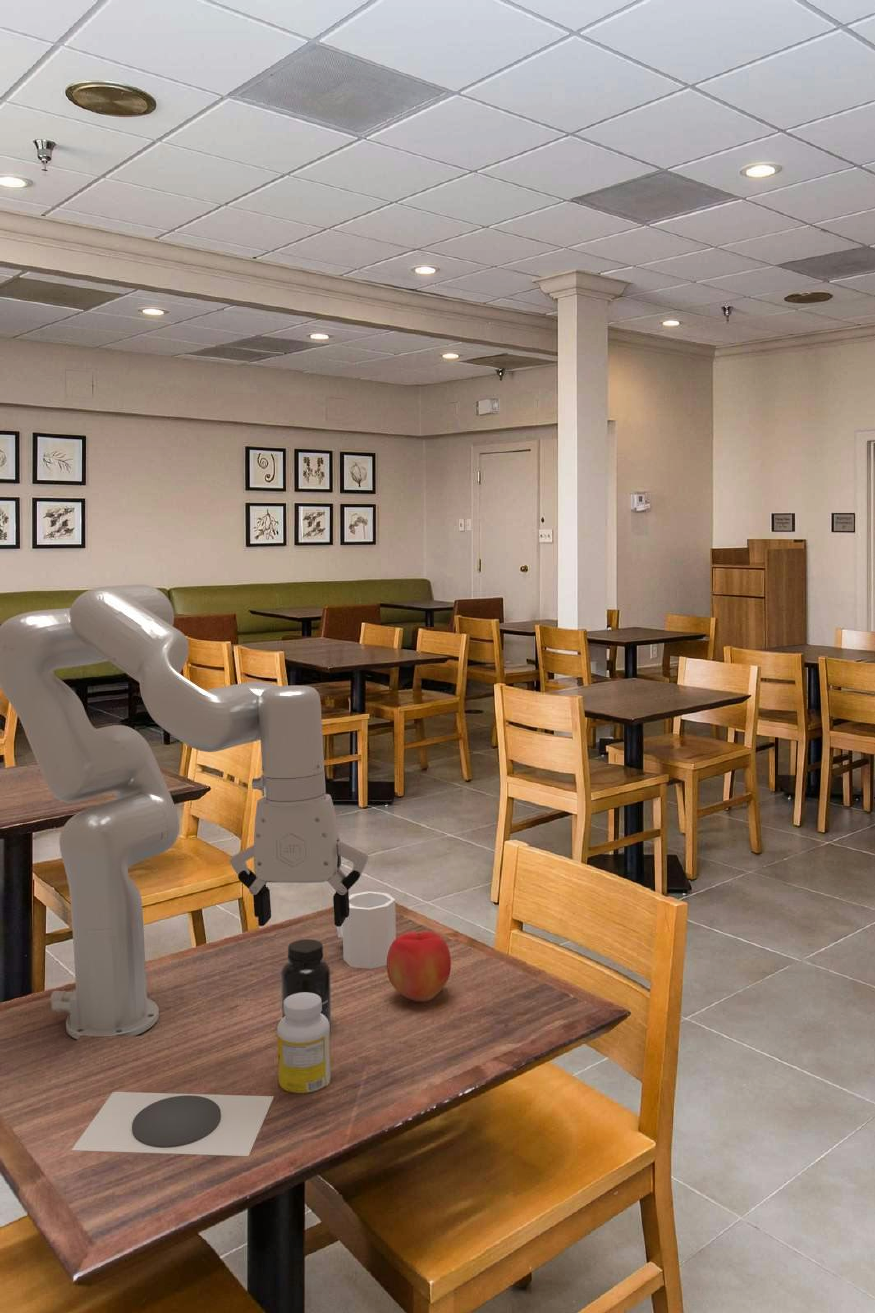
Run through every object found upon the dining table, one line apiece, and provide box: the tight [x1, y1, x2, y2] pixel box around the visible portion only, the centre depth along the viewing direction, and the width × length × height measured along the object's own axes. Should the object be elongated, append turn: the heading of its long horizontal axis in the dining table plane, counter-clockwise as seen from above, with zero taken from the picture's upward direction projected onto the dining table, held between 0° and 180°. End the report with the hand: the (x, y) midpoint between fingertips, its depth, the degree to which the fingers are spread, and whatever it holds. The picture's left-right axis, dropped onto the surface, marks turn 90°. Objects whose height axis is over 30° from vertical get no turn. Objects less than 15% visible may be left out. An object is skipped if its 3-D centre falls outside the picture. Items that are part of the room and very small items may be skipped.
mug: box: [333, 891, 397, 970], centre depth 168 cm, size 12×9×10 cm
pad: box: [132, 1095, 221, 1148], centre depth 119 cm, size 10×10×1 cm
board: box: [71, 1091, 275, 1157], centre depth 119 cm, size 20×12×1 cm, turn 86°
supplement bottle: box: [280, 938, 332, 1026], centre depth 143 cm, size 7×7×12 cm
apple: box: [386, 931, 452, 1003], centre depth 152 cm, size 10×10×10 cm
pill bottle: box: [276, 992, 332, 1095], centre depth 127 cm, size 6×6×12 cm
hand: (302, 922), depth 127 cm, fingers open, 9 cm apart
